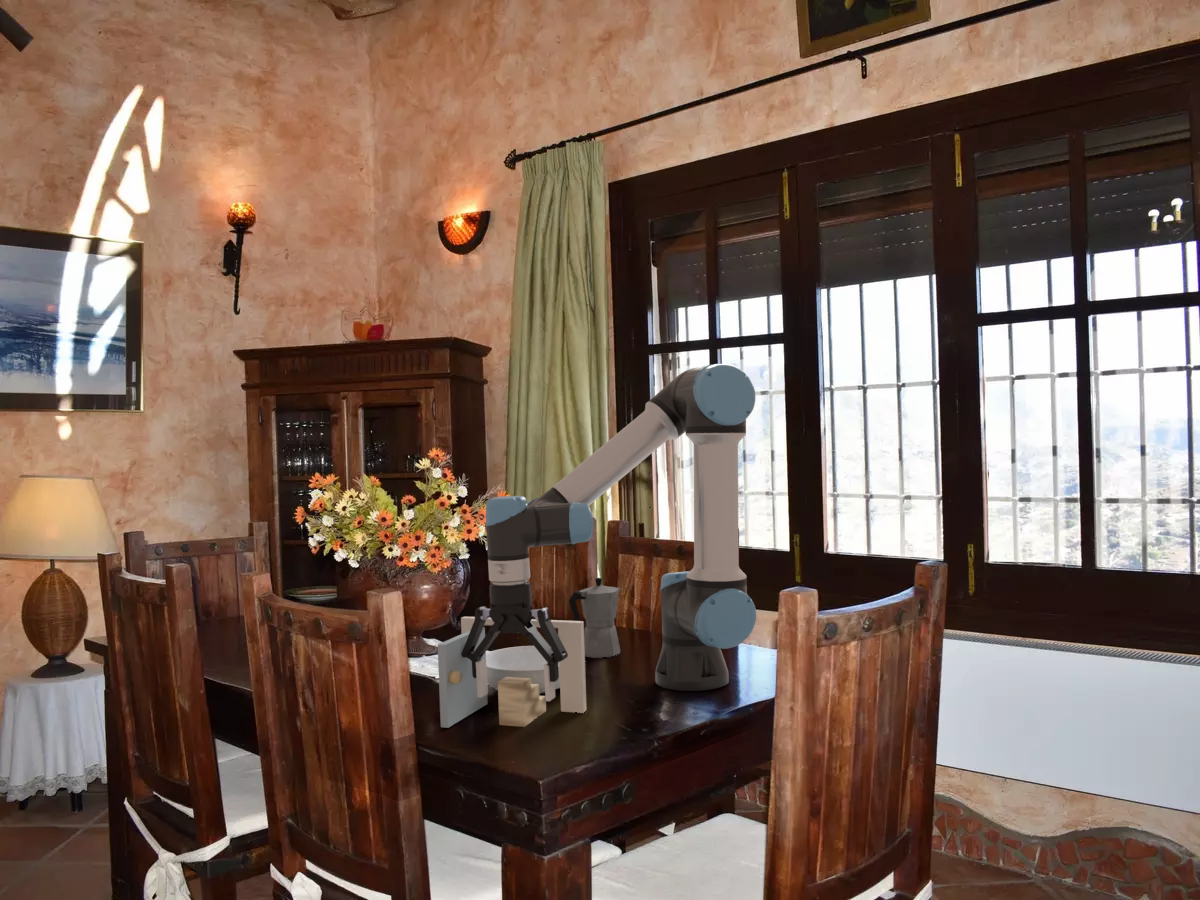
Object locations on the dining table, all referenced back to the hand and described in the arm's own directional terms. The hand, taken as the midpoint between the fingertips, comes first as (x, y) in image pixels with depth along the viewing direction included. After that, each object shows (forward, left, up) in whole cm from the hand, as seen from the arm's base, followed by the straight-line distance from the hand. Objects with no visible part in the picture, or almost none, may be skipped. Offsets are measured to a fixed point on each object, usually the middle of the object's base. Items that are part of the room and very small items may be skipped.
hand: (516, 697), depth 178 cm
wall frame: (+3, -9, -5) cm, 11 cm away
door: (+11, -2, -4) cm, 12 cm away
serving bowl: (+7, -22, -5) cm, 23 cm away
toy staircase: (0, -3, -5) cm, 6 cm away
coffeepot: (+4, -54, -5) cm, 54 cm away
